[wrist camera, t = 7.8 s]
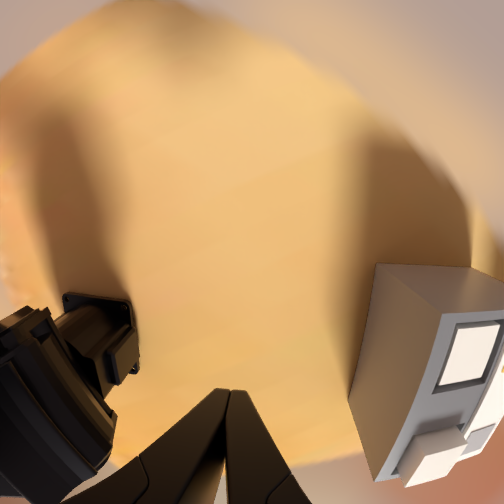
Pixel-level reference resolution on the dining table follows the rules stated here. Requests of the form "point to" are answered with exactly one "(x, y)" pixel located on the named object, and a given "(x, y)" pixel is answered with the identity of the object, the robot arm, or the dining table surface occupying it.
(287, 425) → the dining table surface
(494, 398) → the pattern card
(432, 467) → the button
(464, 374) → the button
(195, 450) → the robot arm
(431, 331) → the console
